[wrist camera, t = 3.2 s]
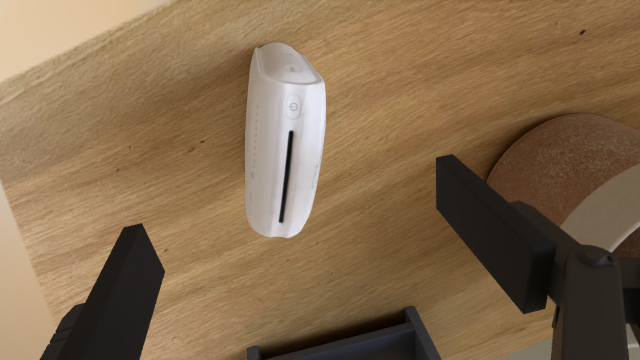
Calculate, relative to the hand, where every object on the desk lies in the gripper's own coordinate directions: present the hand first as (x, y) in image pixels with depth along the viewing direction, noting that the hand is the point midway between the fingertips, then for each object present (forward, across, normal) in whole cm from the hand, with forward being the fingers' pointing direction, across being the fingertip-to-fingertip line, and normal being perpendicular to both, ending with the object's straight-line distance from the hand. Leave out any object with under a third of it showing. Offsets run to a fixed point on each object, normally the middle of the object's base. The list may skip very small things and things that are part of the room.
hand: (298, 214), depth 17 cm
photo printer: (+16, 0, 0) cm, 16 cm away
